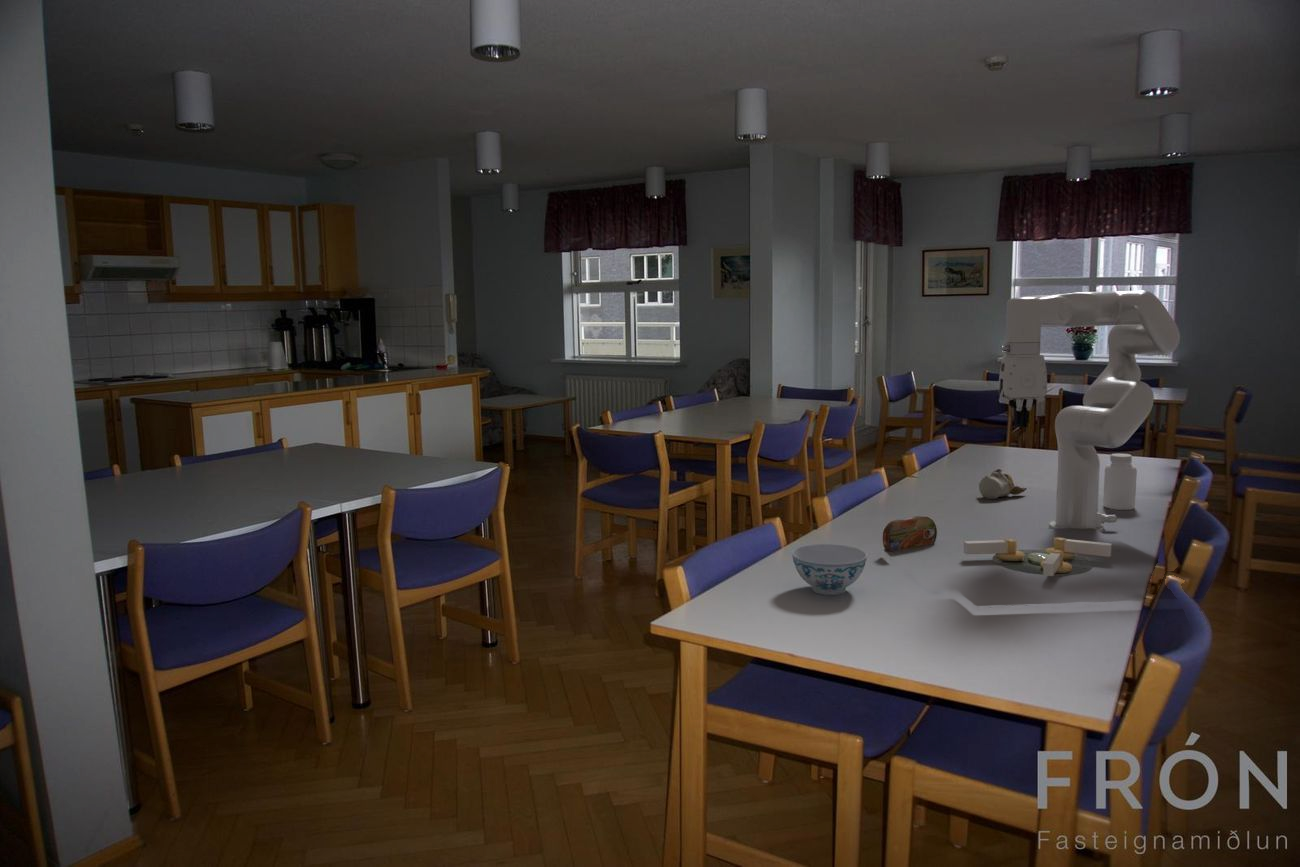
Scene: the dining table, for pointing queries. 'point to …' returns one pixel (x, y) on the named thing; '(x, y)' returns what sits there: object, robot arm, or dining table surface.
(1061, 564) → the knob front
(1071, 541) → the knob right
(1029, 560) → the level base
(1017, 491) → the ceramic sculpture
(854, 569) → the chinaware
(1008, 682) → the dining table surface
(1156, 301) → the robot arm
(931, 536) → the tin
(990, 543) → the knob left
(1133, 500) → the pill bottle
